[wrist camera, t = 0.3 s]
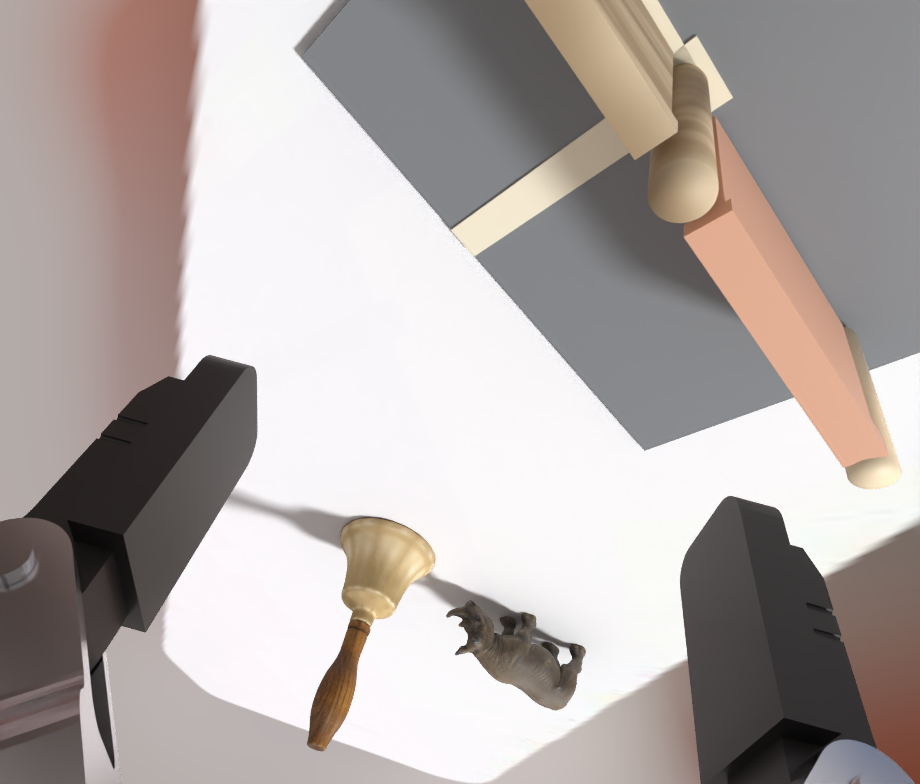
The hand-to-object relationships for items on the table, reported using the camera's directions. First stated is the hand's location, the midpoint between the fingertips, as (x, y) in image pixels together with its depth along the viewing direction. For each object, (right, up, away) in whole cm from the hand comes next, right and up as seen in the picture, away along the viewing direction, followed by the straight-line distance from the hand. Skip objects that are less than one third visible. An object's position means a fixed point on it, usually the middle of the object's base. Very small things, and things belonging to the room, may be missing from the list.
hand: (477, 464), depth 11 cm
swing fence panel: (+14, +8, +18) cm, 24 cm away
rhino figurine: (+5, -19, +47) cm, 51 cm away
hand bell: (-6, -12, +44) cm, 46 cm away
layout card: (+9, +11, +17) cm, 22 cm away
